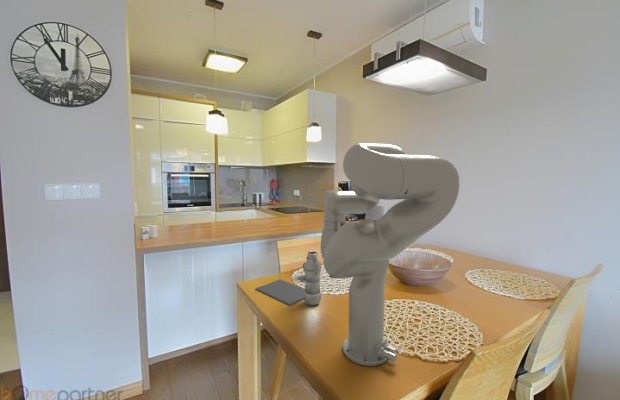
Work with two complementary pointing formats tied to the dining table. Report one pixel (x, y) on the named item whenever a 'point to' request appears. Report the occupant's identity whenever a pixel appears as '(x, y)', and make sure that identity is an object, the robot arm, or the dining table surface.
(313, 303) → the plastic bottle
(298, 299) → the mat
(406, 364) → the dining table surface
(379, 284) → the robot arm
